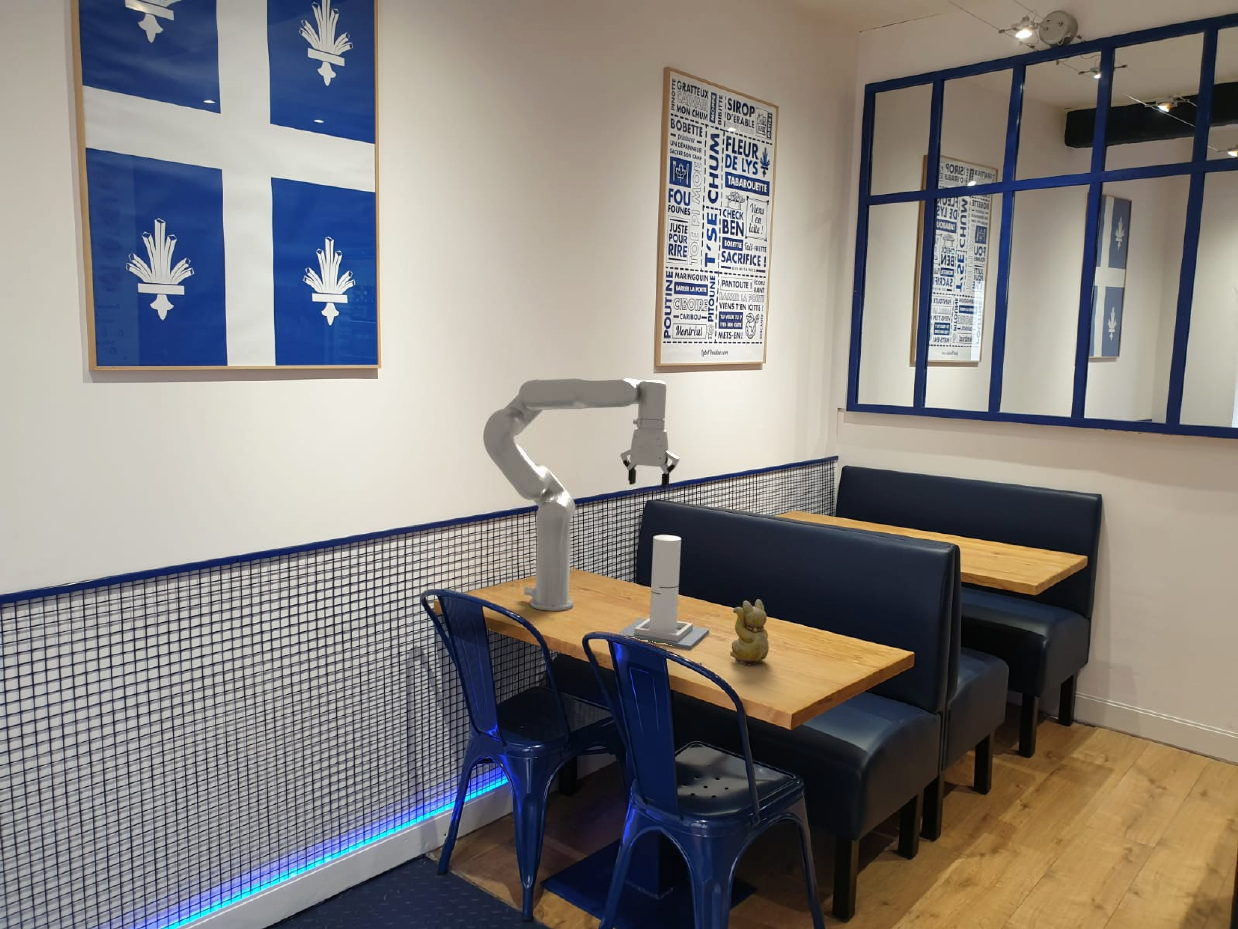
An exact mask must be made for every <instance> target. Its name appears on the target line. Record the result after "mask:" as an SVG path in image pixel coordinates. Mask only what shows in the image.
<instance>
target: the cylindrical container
mask: <svg viewBox="0 0 1238 929" xmlns="http://www.w3.org/2000/svg"><path fill="white" fill-rule="evenodd" d="M652 539H653V541H652V542H653V543H652V544H653V545H652V562H651V563H652V564H651V565H652V566H651V581H650V582H651V583H650V584H651V586H650V587H651V588H650V606H649V607H650V608H649V618H650V624H649V630H655V631H661V632H667V633H673V634H675V633H676V628H677V621H678V606H679V605H678V604H679V584H680V567H681V545H682V538H681V537H680V536H677V535H669V534H659V535H658V534H657V535H654V536H653V538H652Z"/></svg>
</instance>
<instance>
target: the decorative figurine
mask: <svg viewBox="0 0 1238 929" xmlns="http://www.w3.org/2000/svg"><path fill="white" fill-rule="evenodd" d="M732 613H734V614H736V616H737V618H736V621H735V623H734V630H735V633H736V635H737V636H738V639H734V640H733V641H732V643H731V650H732V651H731V652H730V653H729V654H730V656H731V657H733V658H734V659H735V660H736V661H738V662H739V663H741V664H742V665H744V664H745V665H744V666H749V665H748V664H750V665H755V664H761V663H762V661H763V660H765V659H766V658H767V657H768V654H769V649H770V647H769V640H768V638H769V635H768V631H767V630H766V629H765V624H766V623H767V618H768V617H767V613H766V611H765V606H764V604H763V602H762V600H761V599H756V601H755V602H754V605H753V606H752V604H751V603H750V602H749V601H748V600H743V602H742V607H741V606H736V607H734V608H733V610H732ZM760 662H761V663H760Z"/></svg>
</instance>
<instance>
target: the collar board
mask: <svg viewBox="0 0 1238 929" xmlns="http://www.w3.org/2000/svg"><path fill="white" fill-rule="evenodd" d="M649 624H650V617H648V618H647V619H646V618H642V617H641V618H640V617H639V618H638V619H636V620H635V621H633V622H632V623H631V624H629V625H628V626H626V627H624V628H623V629H622V630H620V631H619V632H618V633H619V634H623V635H626V636H628V637H635V638H637V639H640V640H648V642H650V643H649V644H653V643H654V642H656V643H666V644H668V645H672V646H674V647H673V648H677V647H680V648H679V649H683V648H684V650H689V651H690V650H692V649H693V648H694V647H695V646H696V645H697V644H699V642H701V641H702V640H703V639H704V638H705V637H706V636H708V635H709V634H710V628H705V627H704V628H703V627H697V626H694V623H691V622H687V621H686V622H685V621H679V620H677V628H676V633H675V634H673V633H667V632H661V631H655V630H649ZM652 641H653V642H652Z"/></svg>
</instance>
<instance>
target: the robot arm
mask: <svg viewBox="0 0 1238 929" xmlns="http://www.w3.org/2000/svg"><path fill="white" fill-rule="evenodd" d="M666 401H667V384H666V382H664V381H661V380H649V379H647V380H638V379H633V378H620V379H607V380H604V379H603V380H589V379H588V380H586V379H582V378H559V379H558V378H557V379H554V378H553V379H538V378H537V379H532V380H526V382H524V383H523V384H521V386H520V387H519V390H518V394H517V395H516V396H515V397H514V398H513V399H512V400H511V401H510V402H509V403H508V404H507V405H506V406H504V408H501V409H497V410H495V411H494V412H493V413H492V414H491V415H490V416H489V418H488V419H487V421H486V423H485V425H484V430H483V436H482V438H483V445H484V448H485V451H486V452H487V454H488V456H489V457H490V459H491V460H492V461H493V462H494V464H495V465H496V466H497V467H498V469H499V470H500V471H501V473H502V474H503V476H505V478H506V479H507V481H508V482H509V483H510V484H511V486H512V487H513V489H514V490H515V491H516V493H518V494H519V496H520V497H521V498H523V499H525V500H527V501H533V502H534V503H535V504H536V505H537V507H538V508H537V512H536V522H535V523H536V562H535V563H536V565H535V566H536V567H535V568H536V569H535V572H536V573H535V587H528V586H525V588H524V591H523V592H524V593H523V595H525V596H531V599H530V600H529V605H530V607H532V608H534V609H537V610H541V611H547V612H549V611H550V612H551V611H552V612H555V611H557V612H559V611H565V610H569V609H572V608H573V607H574V604H575V602H574V600H573V599H572V598H570V597H569V596H570V595H569V592H570V591H569V590H570V569H571V567H570V564H571V562H570V561H571V560H570V559H571V521H572V519H573V517H575V513H576V503H575V500H574V499H573V498H572V496H571V495H570V494H569V492H568V491H567V489H566V488H565V487H564V486H563V485H562V483H561V482H560V481H559V479H557V477H556V476H555V475H554V474H553V472H552V471H551V470H550V469H549V468H547V467H546V466H544V465H543V464H541V463H534V462H533V461H532V460H531V458H530V457H529V456H528V455H527V454H526V452H525V451H524V450H523V449H522V447H520V446H519V445H518V444H517V442H516V441H515V436H518V435H520V433H522V432H523V431H524V430H525V429H526V428H527V427H528V426H529V425H530V424H531V423H532V422H533V421H534V420H535V419H537V417H538V416H539V415H540V414H541V413H542V412H544V411H550V410H551V411H552V410H555V411H556V410H585V409H604V408H605V409H606V408H608V409H609V408H626V407H629V406H631V405H638V406H637V407H638V409H637V411H638V412H637V418H636V419H633V421H632V424H633V425H636V428H634V429H633V433H632V438H631V444H630V449H629V450H626V451H624V452H621V453H620V459H621V460H622V462H623V465H624V466H625V468H626V470H627V471H628V473H627V474H628V475H627V477H628V478H627V481H628V484H629V485H631V486H632V485H634V484H636V481H637V479H636V478H637V470H636V469H635V468H636V467H637V466H644V467H653V468H654V467H656V468H658V467H660V468H661V470H662V472H663V473H662V474H661V485H660V486H661V488H662V489H665V488H667V487H668V486H669V484H670V474H671V473H672V471H673V470H675V469H676V467H677V465H678V464H679V462H680V458H679V457H678V456H676V455H674V454H673V453H671V451H670V452H669V442H668V441H669V440H668V432H667V430H665V425H666V424H665V423H666ZM628 456H629V459H628ZM669 460H671V461H672V463H671V464H670V465H668V463H669Z"/></svg>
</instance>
